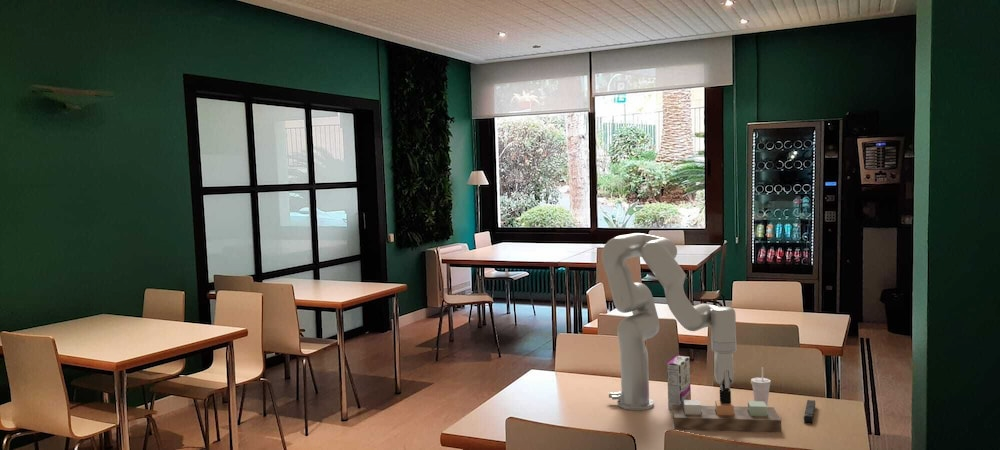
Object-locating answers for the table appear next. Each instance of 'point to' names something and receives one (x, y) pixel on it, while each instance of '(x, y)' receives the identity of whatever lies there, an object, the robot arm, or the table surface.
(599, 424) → the table surface
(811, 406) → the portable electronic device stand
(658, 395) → the table surface
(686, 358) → the candy bar box
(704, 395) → the table surface
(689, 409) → the grey button
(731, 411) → the tan block
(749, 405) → the sage button
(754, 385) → the smoothie
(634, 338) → the robot arm
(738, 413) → the console
